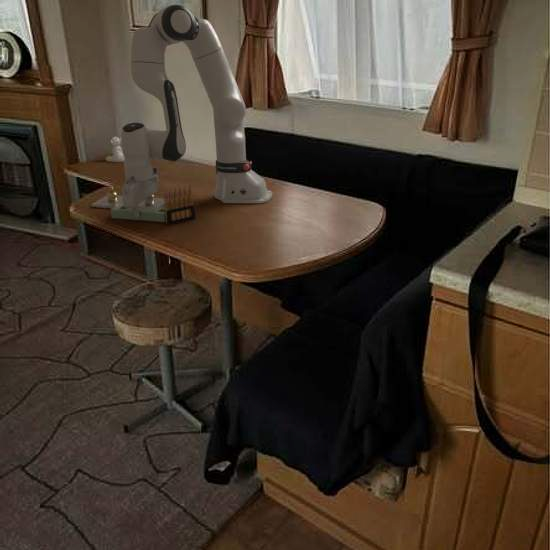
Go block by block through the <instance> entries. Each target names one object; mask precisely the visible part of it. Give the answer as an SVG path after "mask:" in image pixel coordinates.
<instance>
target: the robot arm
mask: <svg viewBox="0 0 550 550" xmlns="http://www.w3.org/2000/svg"><path fill="white" fill-rule="evenodd" d="M181 42H182V43H183V44H184V45H186V47H187V50H189V53H190V56H191V58H192V61H193V63H194V65H195V67H196V70H197V72H198V75H199V77H200V80H201V82H202V85H203V88H204V89H205V92H206V94H207V96H208V99H209V102H210V104H211V107H212V110H213V114H212V115H213V123H214V125H213V126H214V135H215V137H214V138H215V151H216V160H215V172H216V185H215V186H216V187H215V192H214V198H215V199H217V200H219V201H221V202H222V203H223V204H265V203H266V202H269V201H270V200H271V199H272V198H273V191H271V190H270V189H269V190H268V189H267V183H266V181H265V179H264V178H263V177H262V176H261V175H259V174H258V173H257V172H255V171H254V170H252V164H253V163H252V160H251V161H249V160H248V159H247V153H246V133H245V125H244V123H245V122H244V119H245V116H246V114H247V108H246V107H247V106H246V104H245V101H244V99H243V96H242V93H241V91H240V88H239V86H238V84H237V81H236V78H235V76H234V74H233V71H232V69H231V66H230V64H229V61H228V58H227V56H226V53H225V51H224V48H223V45H222V43H221V40H220V38H219V37H218V34H217V32H216V31H215V29H214V27H213V25H212V24H211V22H210V21H209V20H207V19H205V18H197V17H196V16H194V14H193V13H192V12H191V11H190V10H189V9H188V8H187V7H185V6H184V5H181V4H171V5H169V6H165V7H163V8H161V9H160V10H159V11H158V12H156V14H154V15H153V16H152V19H151V20H150V22H149V24H148V26H141V27H139V28H137V29H135V30H134V32H133V34H132V40H131V47H130V49H131V50H130V75H131V79H132V81H133V82H134V83H135V85H136V86H137V87H138V88H139V89H140V90H141V91H143V92H145V93H147V94H149V95H150V96H153V97H154V98H156V100H158V101H159V102H160V104H161V106H162V110H163V115H164V122H165V127H166V129H165V130H156V129H150V128H147V127H146V126H145V124H143V123H142V122H131V123H127V124H125V125H124V126H123V127H122V128H121V135H120V136H121V137H120V138H121V141H120V142H121V143H120V144H121V148H122V152H123V155H124V159H125V160H124V162H123V166H124V175H125V181H124V184H123V185H122V187H121V196H122V201H123V206H124V207H126V208H131V209H132V210H133V212H134V216H135V217H139V216H140V215H141V214H140V211H139V210H138V204H140V203H141V202H143V201H144V200H146V204H145V206H148V207H152V206H151V202H152V195H153V194H154V195H155V194H156V193H158V190H159V177H158V173H159V168H158V166H153V165H152V162H151V159H153V160H164V161H168V162H175V163H176V162H177V161H178V160H180V159H181V158H182V157H183V156H184V155H185V153H186V149H187V144H186V139H185V135H184V133H183V128H182V123H181V122H182V121H181V115H180V109H179V101H178V96H177V92H176V88H175V86H174V83H173V82H172V81H171V80H170V79H169V78H168V75H167V72H166V64H165V63H166V61H165V55H166V49H167V47H168V46H170V45H175V44H179V43H181Z"/></svg>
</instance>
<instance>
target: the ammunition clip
mask: <svg viewBox="0 0 550 550" xmlns="http://www.w3.org/2000/svg"><path fill="white" fill-rule="evenodd" d="M187 188H188V189H187ZM173 189H174V190H173V191H172V189H171V188H170V189H169V193H168V191H167V189H165V190H164V198H163V199H165V201H164V204H165V207H164V208H165V222H164V223H165V225H167V226H171V225H175V224H180V223H184V222H188V221H192V220H193V221H194V220H196V209H195V205H194V196H193V190H192V187H191V185H190V184H189V185H188V187H187V186H186V185H184V186H183V190H182V188H181V187H180V186H179V187H178V191H177V188H176V187H175V188H173Z"/></svg>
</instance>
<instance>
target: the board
mask: <svg viewBox="0 0 550 550" xmlns="http://www.w3.org/2000/svg"><path fill="white" fill-rule="evenodd" d="M138 210H139V211H140V214H141V215H140V216H139V217H135V216H134V212H133V210H132V209H131V208H126V207H124V206H123V205H120V204H119V205H117V206H116V207H114V208H113V209H110V215H111V219H119V220H121V219H122V220H132V221H133V220H134V221H147V222H160V223H165V207H163V208H161V207H148V206H138Z"/></svg>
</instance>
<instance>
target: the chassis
mask: <svg viewBox="0 0 550 550" xmlns="http://www.w3.org/2000/svg"><path fill="white" fill-rule="evenodd" d="M108 188H109V191H107V192H106V195H104V196H103V197H102V198H100V199H97V200H96V201H94V202H93V203H91V207H92V206H96V207H102V208H101V209H107V208H109V209H108V210H111V209H113V208H114V207H116V206H117V205H119V204H120V205H123V201H122V195H118V192H117V191H115V189H114V185H109V187H108ZM164 201H165V199H164V198H161V197H160V198H159V197H155V194H153V195H152V202H151V206H152V207H161V208H165V204H164ZM145 204H146V200H144V201H143V202H141V203H140V204H138V206H145Z"/></svg>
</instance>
